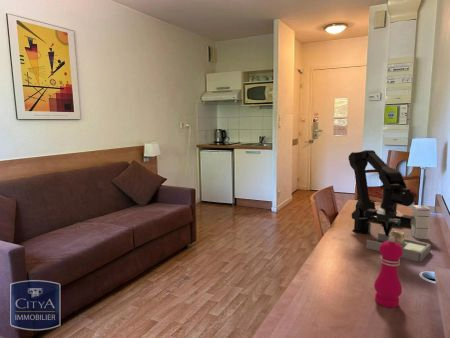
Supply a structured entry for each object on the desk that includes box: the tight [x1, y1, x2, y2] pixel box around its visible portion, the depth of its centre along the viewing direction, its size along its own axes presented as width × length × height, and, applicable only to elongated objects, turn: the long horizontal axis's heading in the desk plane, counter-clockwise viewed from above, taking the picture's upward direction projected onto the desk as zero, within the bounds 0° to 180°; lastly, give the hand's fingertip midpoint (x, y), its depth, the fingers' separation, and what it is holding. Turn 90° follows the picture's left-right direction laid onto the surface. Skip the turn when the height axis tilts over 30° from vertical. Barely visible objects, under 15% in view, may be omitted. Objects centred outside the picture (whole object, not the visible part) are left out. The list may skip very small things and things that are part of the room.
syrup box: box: [410, 204, 431, 240], centre depth 151 cm, size 6×6×14 cm
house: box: [372, 205, 413, 227], centre depth 182 cm, size 23×33×8 cm
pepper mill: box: [373, 236, 403, 308], centre depth 94 cm, size 7×7×20 cm
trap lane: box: [365, 232, 431, 263], centre depth 136 cm, size 20×14×4 cm
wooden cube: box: [390, 230, 405, 244], centre depth 138 cm, size 4×4×4 cm
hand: (387, 235), depth 141 cm, fingers closed
